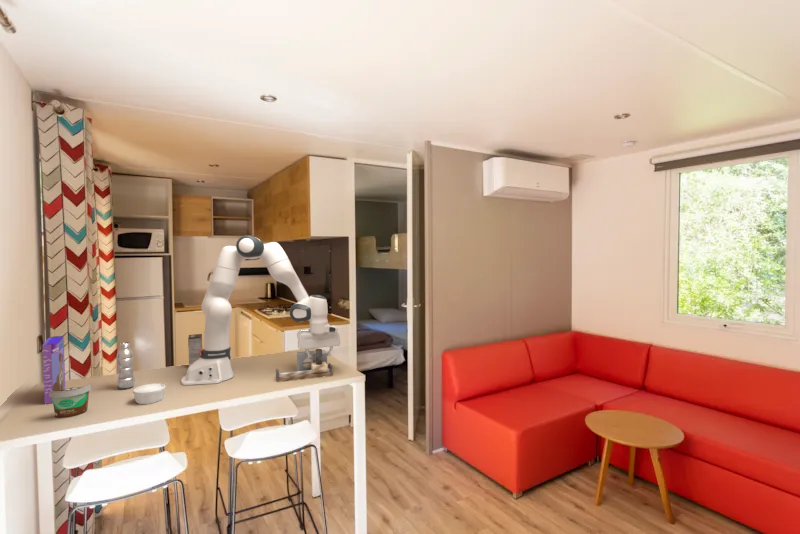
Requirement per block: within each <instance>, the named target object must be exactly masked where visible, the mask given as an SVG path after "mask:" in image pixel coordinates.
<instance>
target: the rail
mask: <svg viewBox="0 0 800 534" xmlns="http://www.w3.org/2000/svg"><path fill="white" fill-rule="evenodd" d="M331 375H333V376H334V373H333V365H332V364H331V363H327V372H321V373H312V370H306V371H297V370H296V371H289V372H281V373H280V370H279V368H275V378H276V382H277V383H280V382H281V381H282V382H288V381H289V380H291V381H298V380H297V379H300V380H306V379H305V378H309V379H315V378H314V377H318V378H324V377H323V376H326V377H332V376H331ZM282 382H281V383H282Z"/></svg>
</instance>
